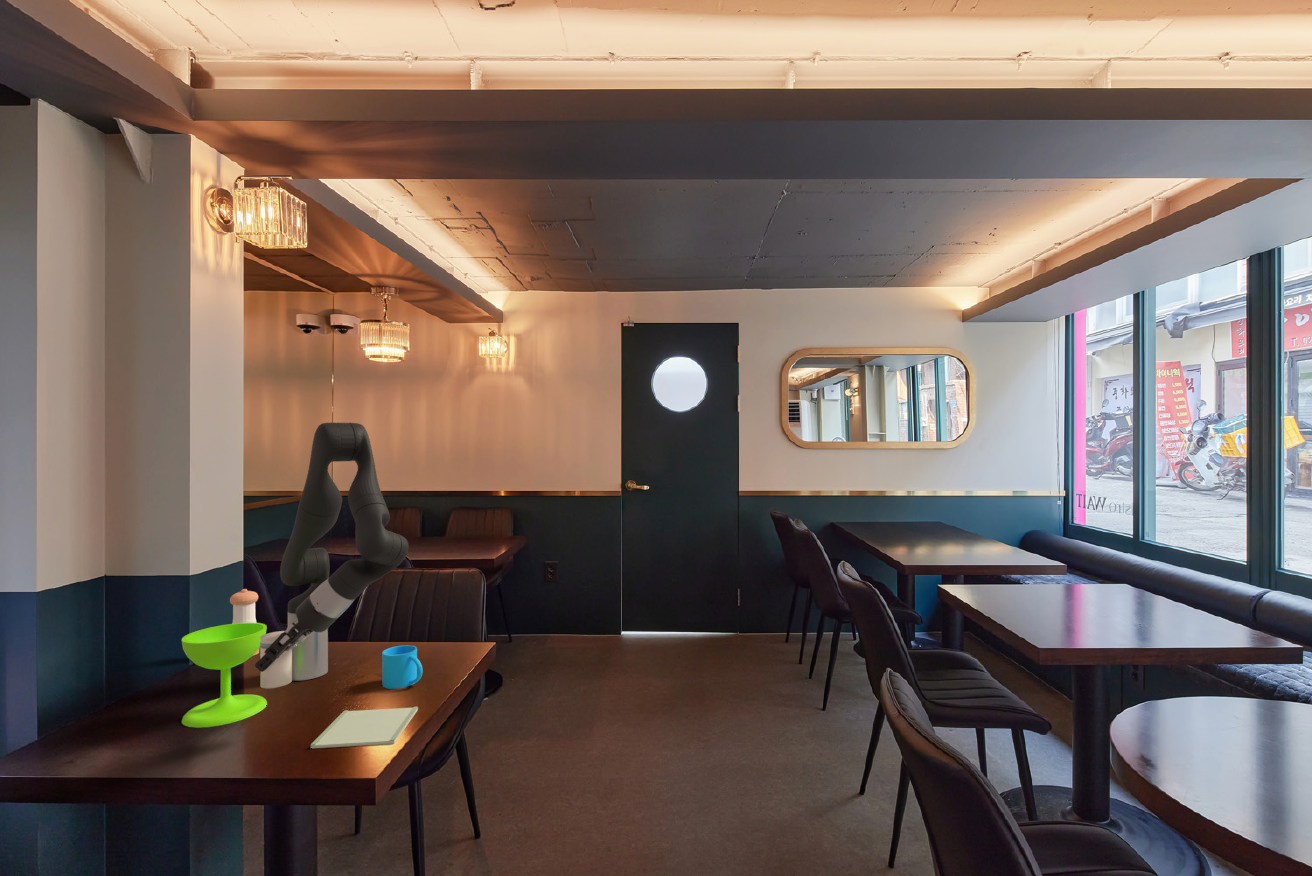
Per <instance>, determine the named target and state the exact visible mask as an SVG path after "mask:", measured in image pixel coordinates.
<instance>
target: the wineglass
mask: <svg viewBox="0 0 1312 876" xmlns="http://www.w3.org/2000/svg"><path fill="white" fill-rule="evenodd" d="M267 629H268V628H267V624H265V623H261V622H257V623H236V624H232V623H229V624H221V625H217V626H211V627H207V628H202V629H200V630H196V631H193V632H190V633H188V634H186V635H184V636H182V638H181V645H182V650H183V652H184V653H185V656H186V657H187V658H188V659H189V660H191V662H192V663H194V664H195V665H196V666H198V667H200V668H204V669H206V670H207V669H208V670H220V696H219V698H216V699H211V700H209V701H205V702H203V703H201V704H198V705H196V706H194V707H193V708H191V709H190V710H188V711H187V712H186V713H184V715H183V716H182V719H181V724H182V725H183V726H185V727H188V728H195V729H196V728H197V729H199V728H211V727H219V726H223V725H228V724H233V723H236V722H240V721H242V720H245V719H247V718H251V717H252V716H254V715H256V714H258V713H260V712H261V711H263V710H264V709H265V708H266V707H267V706H268V701H267V699H266V698H264V697H263V696H262V695H258V694H233V695H232V690H231V689H232V684H231V682H232V674H231V672H232V671H231V669H232V668H234V667H237V666H239V665H241V664H243V663H245V662H246V661H248V660H250V658H252V657H253V655H254V654H255V653H256V652H257V650H258V649H259V650H260V637H261V636H262V635H265V634H267ZM254 656H255V655H254ZM266 705H267V706H266Z"/></svg>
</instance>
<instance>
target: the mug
mask: <svg viewBox="0 0 1312 876" xmlns="http://www.w3.org/2000/svg"><path fill="white" fill-rule="evenodd" d="M381 655H382V656H381V660H382V661H381V665H382V667H381V669H382V671H381V672H382V679H381V680H382V682H381V683H382V684H381V685H383V686H382V688H385V689H390V690H393V689H394V690H395V689H402V688H407V687H409V686H412V685H414V684H416V683H418V682H419V681H420V680H421V679H422V676H423V673H424V672H423V671H424V670H423V665H422V663H421V661H420V660H419V658H418V648H417V646H415V645H406V644H405V645H403V644H402V645H398V646H392V647H388V648H387V649H384V650H383V651H382V653H381Z"/></svg>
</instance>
